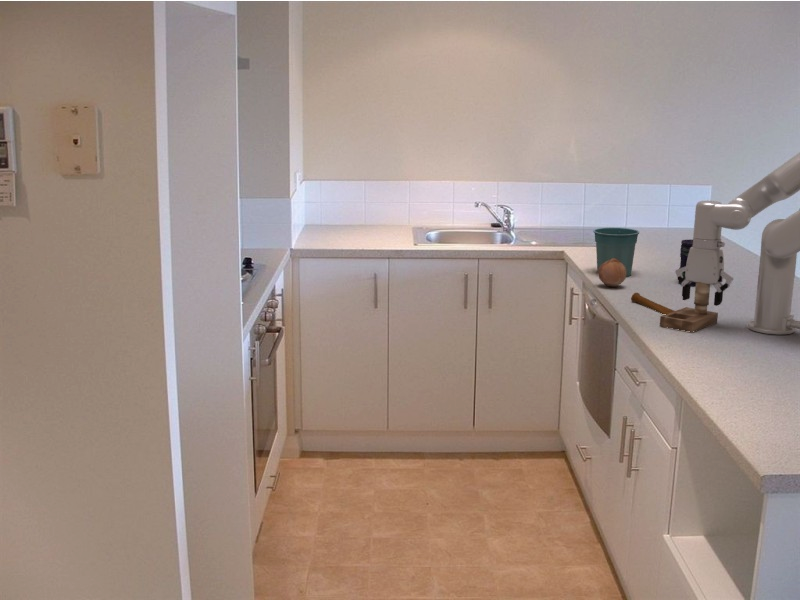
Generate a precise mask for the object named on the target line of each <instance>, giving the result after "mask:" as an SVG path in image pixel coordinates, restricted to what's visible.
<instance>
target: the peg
mask: <svg viewBox="0 0 800 600" xmlns="http://www.w3.org/2000/svg"><path fill="white" fill-rule="evenodd" d="M694 288H695V290H694V301H693V302H694V303H693V304H694V309H695V313H696V314H707V311H708V306H710V305H709V304H710V302H709V301H710V292H711V291H710V290H711V285H710V284H704V283H701V282H696V287H694Z"/></svg>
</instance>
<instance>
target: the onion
mask: <svg viewBox="0 0 800 600" xmlns="http://www.w3.org/2000/svg"><path fill="white" fill-rule="evenodd" d="M597 275H598V279H599V280H600V281H601V283H603V284H604V285H605V286H607V287H609V288H613V287H618V286H619V285H622V283H623V282H624V281H625V280H626V277H627V276H626V268H625V266H624V265H623V264H622V263H621V262H620V260H617V259H615V258H612V259H610V260H608V261H606V262H604V263H603V264H602V265H601V266H600V267H599V270H598V273H597Z"/></svg>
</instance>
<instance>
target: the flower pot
mask: <svg viewBox="0 0 800 600" xmlns="http://www.w3.org/2000/svg"><path fill="white" fill-rule="evenodd" d="M593 233H594V242H595V246H596V247H595V248H596V249H595V250H596V268H597V269H596V270H597V274H598V270H599V267H600V266H601V265H602V264H603V263H604V262H606V261H608V260H610V259H612V258H615V259H617V260H620V262H621V263H622V264H623V265H624V266H625V268H626V277H629V276H631V275H632V270H633V263H634V257H635V252H636V251H635V250H636V244H637V241H638V237H639V236H638V235H640V234H641V233H640V231H639V230H637V229H634V228H627V227H599V228H595V229H593Z"/></svg>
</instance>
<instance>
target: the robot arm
mask: <svg viewBox="0 0 800 600" xmlns="http://www.w3.org/2000/svg"><path fill="white" fill-rule="evenodd" d="M799 191H800V152H798V153H797V154H796V155H794V156H792V157H791V158H789V160H786V162H784V163H783V164H781V165H780V166H778V167H777V168H775V169H774V170H773V171H771V172H770V173H768V174H767V175H766V176H764V177H763V178H762V179H760V180H759V181H758V182H756V183H755V184H753V185H752V186H751V187H749V188H748V189H746V190H744V192H742V193H740V194H739V195H738V196H735V198H733V199H732V200H731V201H729V202H728V203H722V202H721V201H720V202H719V201H716V200H701V201H698V202H697V203H696V205H695V214H694V223H693V224H694V225H693V237H692V240H693V247H691V248H690V251H689V254H688V258H687V263H686V266H685V267H683V268H680V267H679V268H680V269H679V268H678V269H675V271H674V273H675V274H676V277H677V281H679V282H680V283H681V285H680V286H681V287H682V288H681V290H682V291H681V297H682V301H687V300H689V299H690V298H691V287H690V285H689V284H690V283H691V282H701V283H704V284H710V286H711V285H712V286H713V287H714V289H715V290H716V291H715V292H714V300H713V306H716V307H717V306H719V305H722V302H723V295H724V292H725V291H726V290H727V289H728V288H729V287H731V286H730V285H731V284H732V283H733V282H734V277H733V276H731V275H730V274H728V273H727V272H726V271H725V259H724V257H725V256H724V250H723V249H722V248H724V247H725V245H726V243H725V242H724V241H722V230H723V229H722V228H724V229H728V230H734V231H739V230H743V229H745V228H746V227H748V225H750V223H751V221H752V218H754V217H756V216H757V215H759V213H761V212H762V211H764V210H765V209H767V208H769V207H770V206H772V205H774V204H776V203H779V202H780V201H785V200H787V199H789V198H791V197H792V196H794V195H795V194H796V193H798V192H799ZM760 243H761V244H760V253H759V254H760V256H759V265H758V266H759V267H758V276H757V285H756V296H755V297H756V298H755V307H754V317H753V320H751V321H749V322H747V328H748V329H749V330H751V331H754V332H757V333H761V334H762V333H763V334H766V335H791V334H794V333H795V331H796V330H800V320H796V319H795V317H794V316H795V315H794V314H792V313H791V312H792V303H793V295H794V294H793V292H794V285H795V278H796V277H795V276H796V268H797V259H798V258H797V257H798V253H799V252H800V208H799V209H798V210H797V211H796V212H794V213H792V214H790V215H789V216H788V217H786V218H778V219H777V218H776V219H773V220H771V221H770V222H768V223H767V224H766V225H765V227H764V228H763V230H762V233H761V241H760ZM684 271H685V278H686V279H685V278H684V277H683V276H682V272H684ZM724 280H725V283H722V282H723V281H724ZM795 329H796V330H795Z"/></svg>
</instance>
